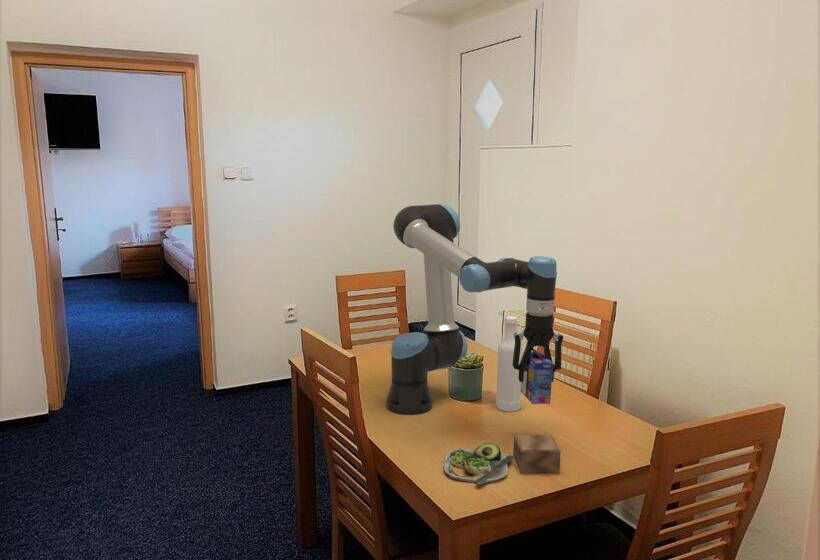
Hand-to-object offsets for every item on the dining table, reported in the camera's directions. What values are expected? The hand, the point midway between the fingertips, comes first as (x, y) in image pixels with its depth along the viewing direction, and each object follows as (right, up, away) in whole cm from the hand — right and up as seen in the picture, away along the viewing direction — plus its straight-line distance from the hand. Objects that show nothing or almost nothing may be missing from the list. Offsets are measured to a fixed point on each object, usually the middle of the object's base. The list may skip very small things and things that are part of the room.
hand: (535, 392), depth 182 cm
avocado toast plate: (-18, -18, -14) cm, 29 cm away
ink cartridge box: (0, -2, 0) cm, 2 cm away
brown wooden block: (-2, -17, -13) cm, 21 cm away
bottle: (-4, -10, +27) cm, 29 cm away
